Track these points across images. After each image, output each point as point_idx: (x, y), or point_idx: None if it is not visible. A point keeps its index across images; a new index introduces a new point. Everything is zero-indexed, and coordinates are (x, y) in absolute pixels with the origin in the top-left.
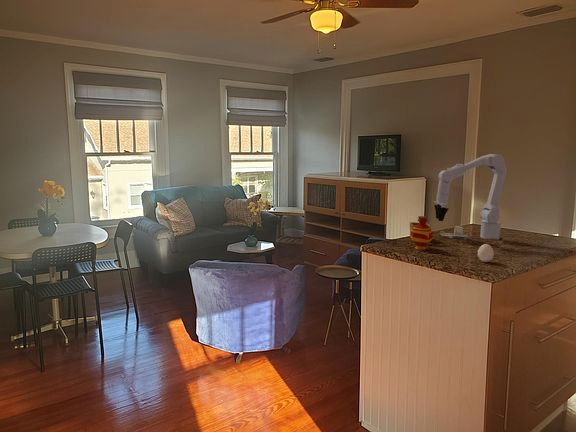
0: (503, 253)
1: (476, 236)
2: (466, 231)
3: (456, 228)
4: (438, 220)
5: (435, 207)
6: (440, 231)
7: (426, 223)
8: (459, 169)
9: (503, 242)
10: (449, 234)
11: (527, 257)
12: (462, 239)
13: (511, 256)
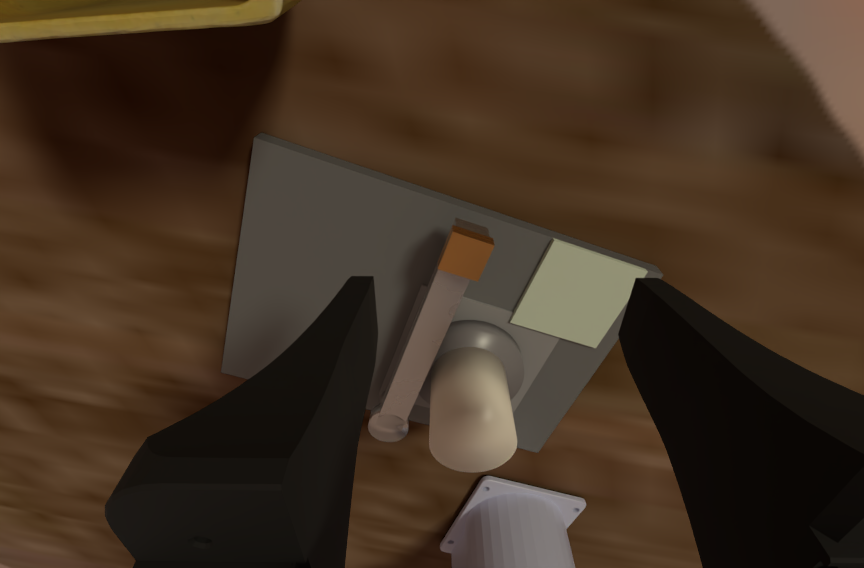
0: (92, 497)
1: (610, 483)
2: None
3: (439, 413)
4: (373, 276)
5: (805, 429)
6: (454, 238)
7: (244, 3)
8: None
9: (429, 557)
10: (420, 311)
11: (65, 557)
12: (384, 379)
13: (34, 511)
